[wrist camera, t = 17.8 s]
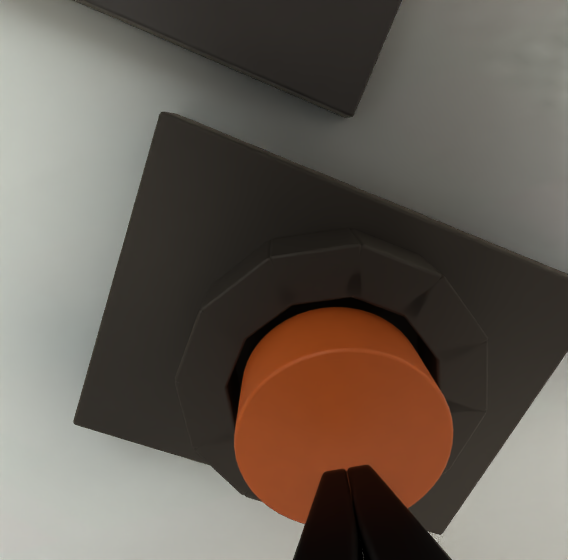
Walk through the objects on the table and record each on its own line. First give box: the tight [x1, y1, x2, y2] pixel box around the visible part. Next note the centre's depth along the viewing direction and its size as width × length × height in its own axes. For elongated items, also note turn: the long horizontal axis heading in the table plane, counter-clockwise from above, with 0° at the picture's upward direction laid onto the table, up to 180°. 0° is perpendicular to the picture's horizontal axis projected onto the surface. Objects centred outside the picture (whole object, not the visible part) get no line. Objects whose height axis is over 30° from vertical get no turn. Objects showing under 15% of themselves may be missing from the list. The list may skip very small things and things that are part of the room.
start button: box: [234, 307, 453, 524], centre depth 9 cm, size 4×4×2 cm
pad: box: [74, 112, 568, 535], centre depth 12 cm, size 12×9×3 cm
